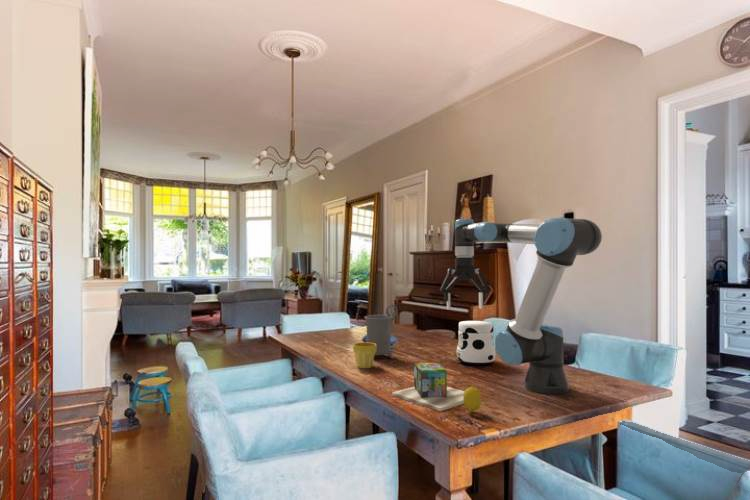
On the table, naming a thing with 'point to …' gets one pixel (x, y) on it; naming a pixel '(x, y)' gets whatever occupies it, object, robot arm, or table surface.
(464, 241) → the robot arm
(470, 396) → the lemon
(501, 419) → the table surface
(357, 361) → the plant pot
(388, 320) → the mug
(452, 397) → the ash board
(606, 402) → the table surface
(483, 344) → the milk container
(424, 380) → the chalk box
